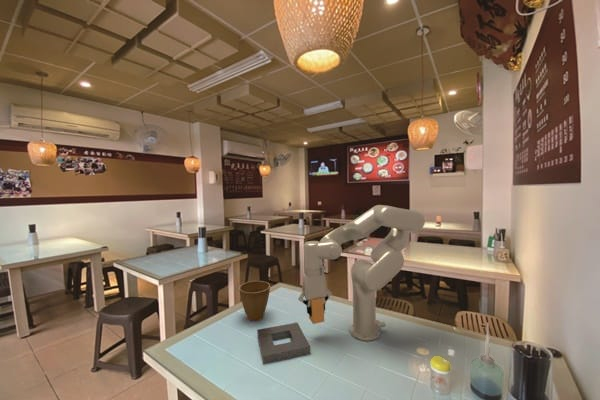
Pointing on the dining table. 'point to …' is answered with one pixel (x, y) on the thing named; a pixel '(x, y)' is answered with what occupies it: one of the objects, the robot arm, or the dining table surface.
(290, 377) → the dining table surface
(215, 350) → the dining table surface
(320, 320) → the orange rectangular block
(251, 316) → the plant pot
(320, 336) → the dining table surface
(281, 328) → the grey square frame
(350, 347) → the dining table surface
